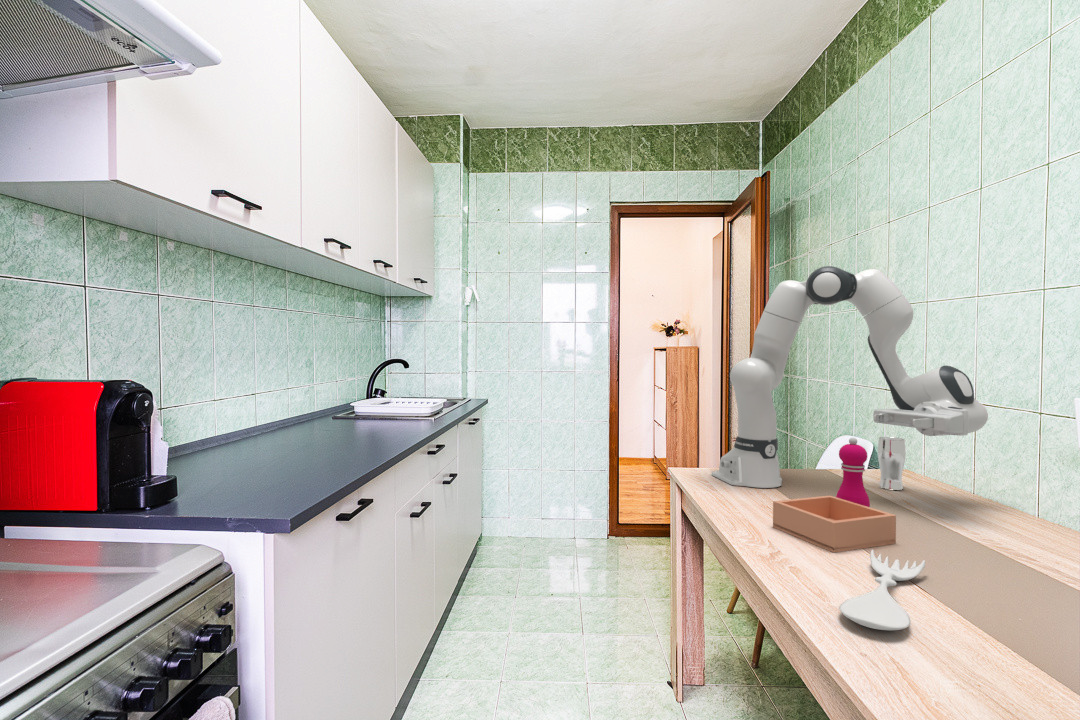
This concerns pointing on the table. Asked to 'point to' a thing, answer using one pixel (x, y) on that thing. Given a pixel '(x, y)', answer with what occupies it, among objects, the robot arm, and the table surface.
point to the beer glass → (891, 462)
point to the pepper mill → (853, 473)
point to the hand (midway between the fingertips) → (893, 420)
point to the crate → (834, 523)
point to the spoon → (882, 598)
